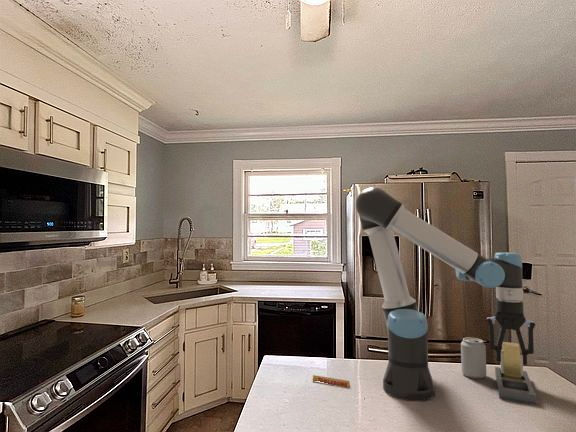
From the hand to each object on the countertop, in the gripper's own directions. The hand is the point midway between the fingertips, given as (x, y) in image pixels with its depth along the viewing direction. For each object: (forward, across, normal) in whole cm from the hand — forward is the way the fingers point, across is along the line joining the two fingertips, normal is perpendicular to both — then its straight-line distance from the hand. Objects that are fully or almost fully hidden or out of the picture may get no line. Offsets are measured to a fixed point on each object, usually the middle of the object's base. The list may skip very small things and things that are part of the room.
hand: (511, 373), depth 116 cm
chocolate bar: (+4, -52, -26) cm, 58 cm away
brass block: (+1, 0, 0) cm, 1 cm away
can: (+3, -11, +2) cm, 11 cm away
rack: (+3, 0, -4) cm, 5 cm away
